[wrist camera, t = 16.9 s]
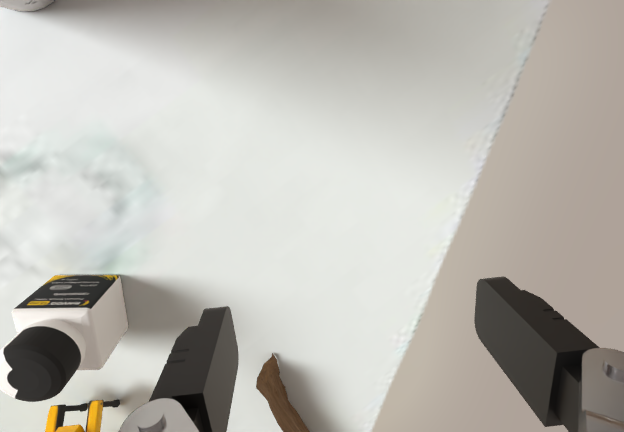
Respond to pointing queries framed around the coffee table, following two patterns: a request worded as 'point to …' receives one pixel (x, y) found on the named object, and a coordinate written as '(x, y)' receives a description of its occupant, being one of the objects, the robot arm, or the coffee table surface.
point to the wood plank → (278, 398)
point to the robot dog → (95, 409)
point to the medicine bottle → (62, 334)
